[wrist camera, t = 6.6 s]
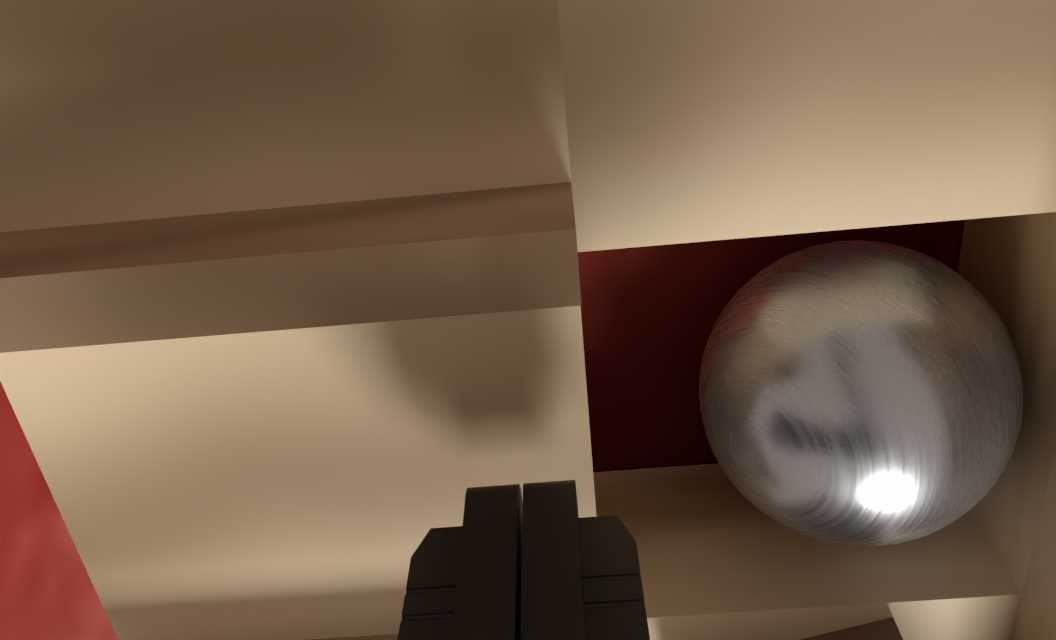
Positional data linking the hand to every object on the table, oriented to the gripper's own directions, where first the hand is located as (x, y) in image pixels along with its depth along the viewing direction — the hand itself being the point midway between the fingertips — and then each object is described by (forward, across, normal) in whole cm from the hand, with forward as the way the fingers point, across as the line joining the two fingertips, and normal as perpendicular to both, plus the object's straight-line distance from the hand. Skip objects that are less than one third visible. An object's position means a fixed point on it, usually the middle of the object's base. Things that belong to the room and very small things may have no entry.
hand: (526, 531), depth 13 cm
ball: (+3, -5, 0) cm, 6 cm away
